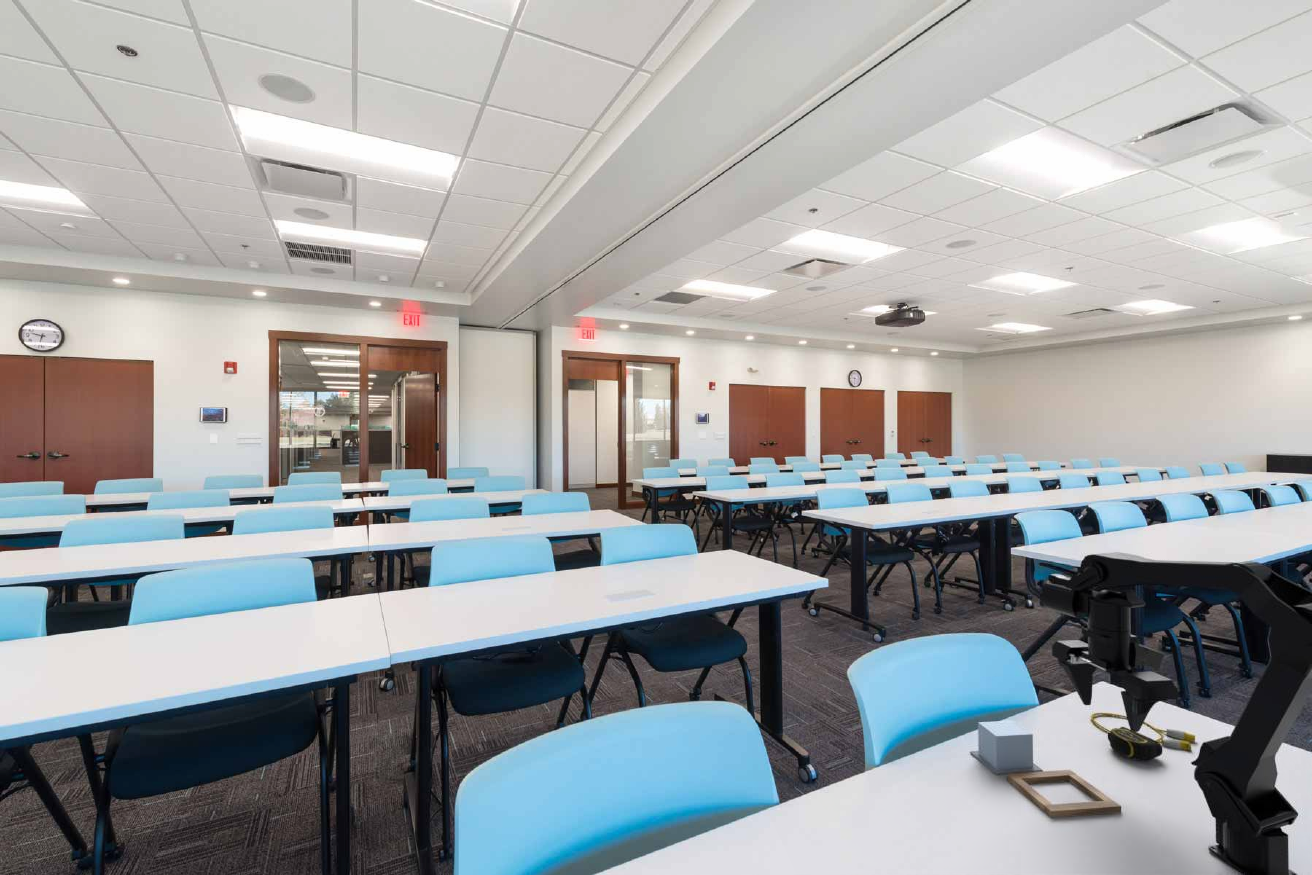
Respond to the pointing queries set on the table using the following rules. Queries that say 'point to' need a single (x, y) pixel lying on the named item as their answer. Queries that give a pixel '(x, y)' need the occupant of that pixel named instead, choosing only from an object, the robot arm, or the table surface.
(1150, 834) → the table surface
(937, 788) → the table surface
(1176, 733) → the extension cord
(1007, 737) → the part block
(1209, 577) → the robot arm
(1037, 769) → the pad
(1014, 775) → the frame
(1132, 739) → the tape measure
